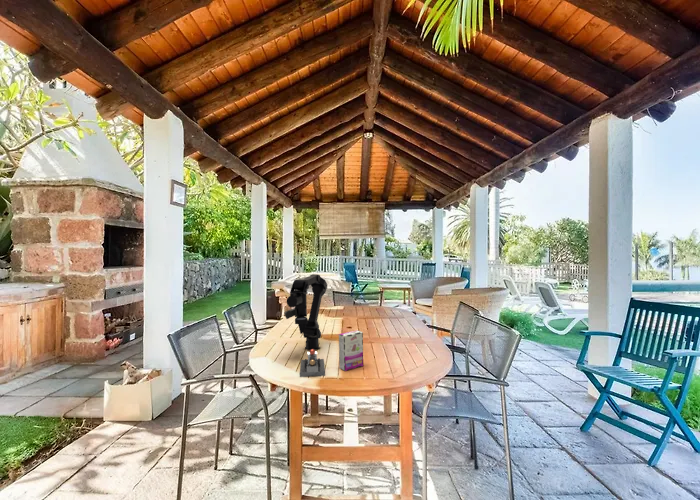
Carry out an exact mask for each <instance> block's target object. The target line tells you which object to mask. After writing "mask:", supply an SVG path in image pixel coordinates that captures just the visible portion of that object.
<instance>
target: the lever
mask: <svg viewBox="0 0 700 500" xmlns="http://www.w3.org/2000/svg"><path fill="white" fill-rule="evenodd" d="M311 359H314V360H315V364H317V359H318V352H317V351H316V349H315V350H314V349H311V350H309V351H307V360H308V364H310V363H309V362H310V360H311Z"/></svg>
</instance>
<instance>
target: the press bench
mask: <svg viewBox="0 0 700 500" xmlns="http://www.w3.org/2000/svg"><path fill="white" fill-rule="evenodd" d="M309 363H310V364H308V358H305V359H300V367H299V377H301V378H302V377H303V378H305V377H323V376H326V370H325V368H326V367H325V360H324V358H318V357H317V364H315V360H314V359H311V360H310V362H309Z"/></svg>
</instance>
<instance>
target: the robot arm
mask: <svg viewBox="0 0 700 500" xmlns="http://www.w3.org/2000/svg"><path fill="white" fill-rule="evenodd" d="M310 287H311V290H312V293H313V296H312V302H311V307H310V310H309V316H308V310H307V307H308V306H307V303H308V301H307V300H308V299H307V294H308V290H309V288H310ZM327 289H328V283H327V281H326V279H324V278H323V277H321V275H320V274H318V273H317V274H315V273H314V274H310V275H308V276H306V277H305V278H297V279H294V280H293V282H292V284H291V288H290V291H289V296H288V297H287V299H286V305H287V306H288V307H290V308H291V309H288V310H285V311H284V317H285V318H286V320H289V319H290V318H294V317H295V318H294V325H298V328H299V329H298V330H299V333H300V334H301V335H303V338H304V339H305V338H306V339H305V346H304V349H306V350H309V351H310V350H311V349H314V350H315V351H316V350H319V349H321V346H319V345H320V343H319V342H320V340H319V339H321V338H322V331H321V330H320V325H319V322H318V319H319V313H320V308H321V302H322V298H323V296H324V295H325V294H326V292H327Z"/></svg>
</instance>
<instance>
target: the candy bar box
mask: <svg viewBox="0 0 700 500" xmlns="http://www.w3.org/2000/svg"><path fill="white" fill-rule="evenodd" d="M338 360H339V361H338V364H339V367H338V368H339V369H340V370H342V371H343V372H347V371H350V370H354V369H358V368H361V367H364V332H363V331H361V330H353V331H347V332H342V333H339V334H338Z"/></svg>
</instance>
